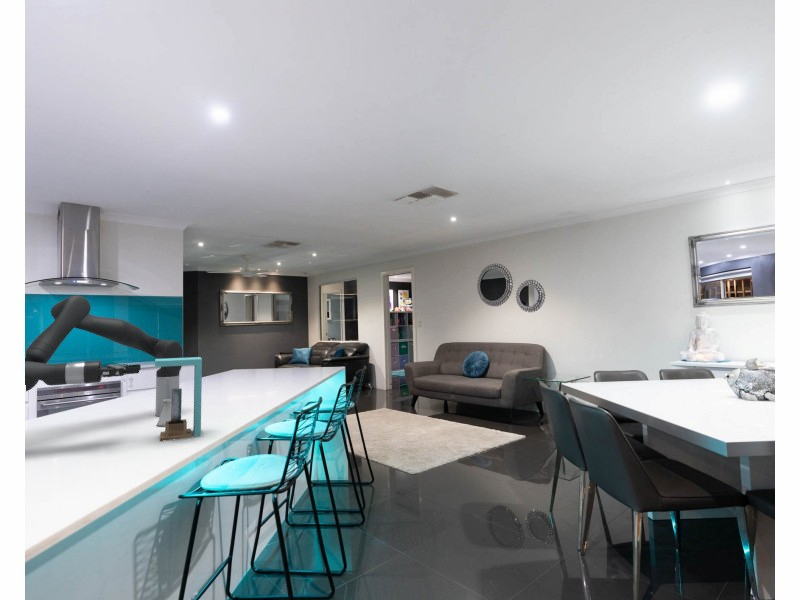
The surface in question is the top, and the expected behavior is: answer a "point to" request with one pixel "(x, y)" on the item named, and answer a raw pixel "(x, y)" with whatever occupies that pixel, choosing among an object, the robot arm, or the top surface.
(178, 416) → the peg
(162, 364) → the teal angle bracket
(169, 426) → the socket
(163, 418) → the flask
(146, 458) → the top surface
